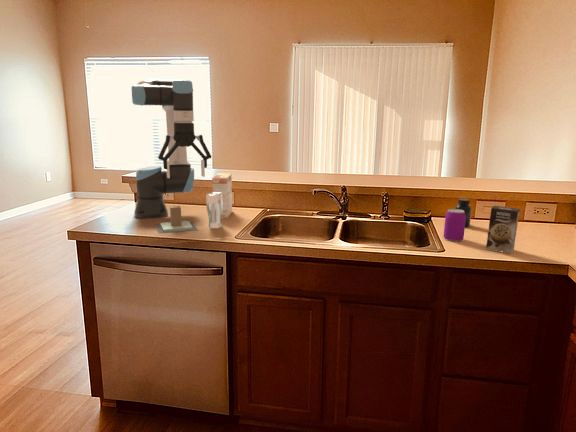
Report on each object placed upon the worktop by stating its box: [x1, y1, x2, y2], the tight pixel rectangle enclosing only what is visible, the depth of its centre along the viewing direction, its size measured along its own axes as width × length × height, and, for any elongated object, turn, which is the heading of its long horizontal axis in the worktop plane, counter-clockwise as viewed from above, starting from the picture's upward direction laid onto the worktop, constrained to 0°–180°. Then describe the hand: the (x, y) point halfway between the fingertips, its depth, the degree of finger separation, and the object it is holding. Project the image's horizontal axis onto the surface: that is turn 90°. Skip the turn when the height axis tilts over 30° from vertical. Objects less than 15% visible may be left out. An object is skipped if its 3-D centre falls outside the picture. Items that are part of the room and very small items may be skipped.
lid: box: [159, 205, 193, 232], centre depth 188 cm, size 12×12×9 cm
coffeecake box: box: [211, 172, 233, 219], centre depth 213 cm, size 15×7×20 cm, turn 178°
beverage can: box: [443, 208, 466, 242], centre depth 177 cm, size 8×8×12 cm
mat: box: [155, 221, 199, 235], centre depth 189 cm, size 16×16×1 cm
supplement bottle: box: [454, 198, 472, 228], centre depth 199 cm, size 7×7×12 cm
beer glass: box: [205, 191, 223, 229], centre depth 189 cm, size 7×7×15 cm
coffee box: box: [485, 205, 521, 254], centre depth 163 cm, size 9×6×16 cm
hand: (185, 176), depth 174 cm, fingers open, 13 cm apart
